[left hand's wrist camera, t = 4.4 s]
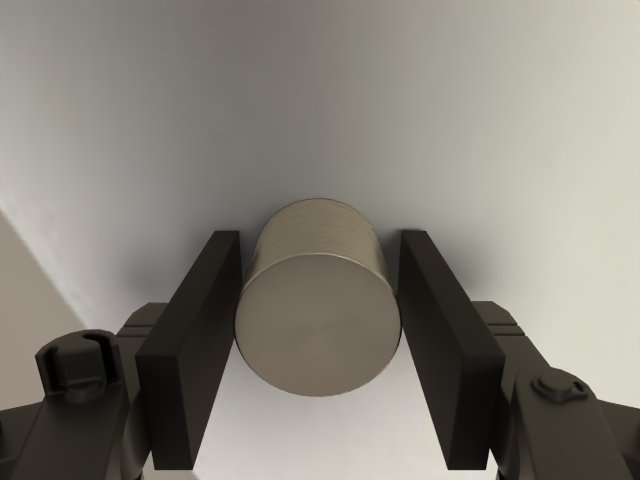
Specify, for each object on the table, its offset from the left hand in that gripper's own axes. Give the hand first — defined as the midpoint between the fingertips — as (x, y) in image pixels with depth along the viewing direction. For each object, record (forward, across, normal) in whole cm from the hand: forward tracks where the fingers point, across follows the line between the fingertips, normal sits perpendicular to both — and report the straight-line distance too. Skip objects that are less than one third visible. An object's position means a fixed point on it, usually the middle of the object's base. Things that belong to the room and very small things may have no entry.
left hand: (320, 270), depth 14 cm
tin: (0, 0, 0) cm, 0 cm away
